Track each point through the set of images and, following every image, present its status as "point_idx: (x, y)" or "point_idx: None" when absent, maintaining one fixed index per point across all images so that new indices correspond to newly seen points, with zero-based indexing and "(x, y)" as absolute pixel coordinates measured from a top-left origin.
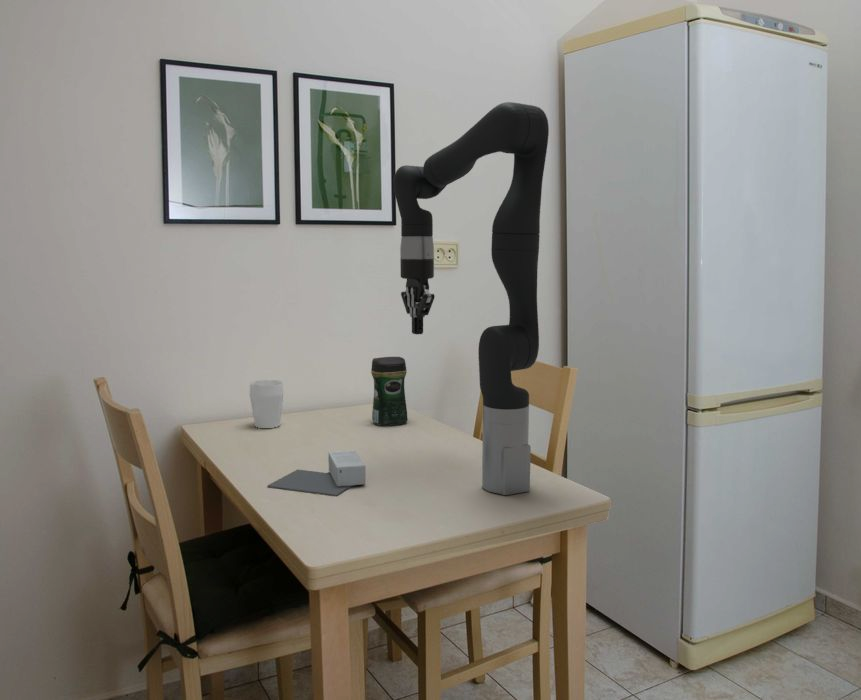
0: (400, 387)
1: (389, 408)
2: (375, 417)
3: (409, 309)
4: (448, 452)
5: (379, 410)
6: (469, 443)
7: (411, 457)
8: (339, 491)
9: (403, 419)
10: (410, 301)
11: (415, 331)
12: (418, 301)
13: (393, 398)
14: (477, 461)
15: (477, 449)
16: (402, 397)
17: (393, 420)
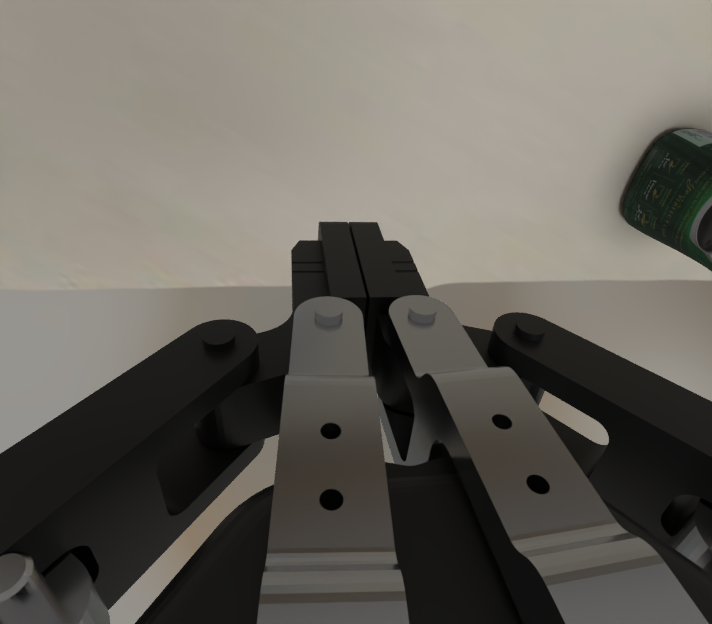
0: (700, 246)
1: (674, 180)
2: (696, 133)
3: (512, 361)
4: (309, 174)
5: (697, 149)
6: None
7: (313, 46)
8: None
9: (628, 209)
10: (449, 436)
11: (320, 236)
12: (253, 498)
13: (688, 206)
14: (195, 199)
15: None
16: (673, 237)
17: (642, 178)
